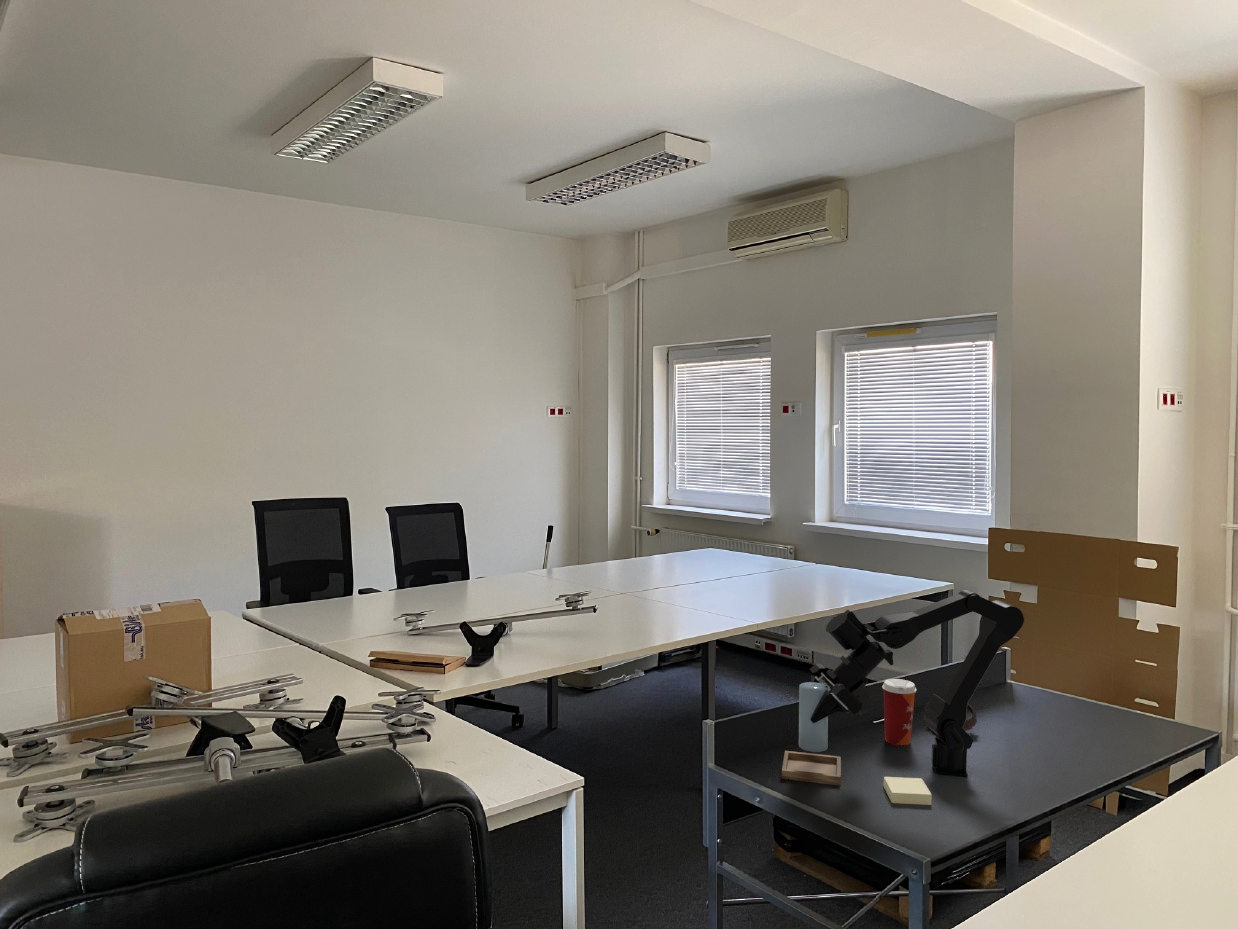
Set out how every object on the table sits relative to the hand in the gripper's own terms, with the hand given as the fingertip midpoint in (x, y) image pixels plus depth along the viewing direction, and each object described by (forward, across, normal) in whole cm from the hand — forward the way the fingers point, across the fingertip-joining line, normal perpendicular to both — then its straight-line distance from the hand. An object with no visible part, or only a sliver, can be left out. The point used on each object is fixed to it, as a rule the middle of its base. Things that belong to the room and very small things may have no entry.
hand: (807, 716), depth 183 cm
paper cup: (-10, +16, -28) cm, 34 cm away
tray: (+8, 0, -10) cm, 12 cm away
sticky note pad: (-3, -12, -21) cm, 25 cm away
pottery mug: (-21, +24, -40) cm, 51 cm away
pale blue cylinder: (+4, 0, -6) cm, 7 cm away
